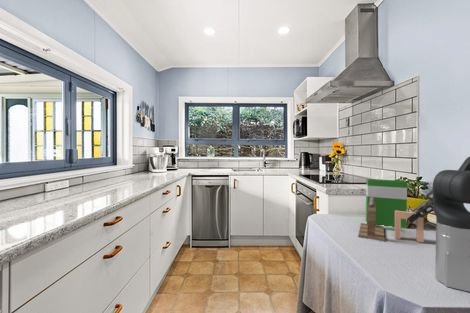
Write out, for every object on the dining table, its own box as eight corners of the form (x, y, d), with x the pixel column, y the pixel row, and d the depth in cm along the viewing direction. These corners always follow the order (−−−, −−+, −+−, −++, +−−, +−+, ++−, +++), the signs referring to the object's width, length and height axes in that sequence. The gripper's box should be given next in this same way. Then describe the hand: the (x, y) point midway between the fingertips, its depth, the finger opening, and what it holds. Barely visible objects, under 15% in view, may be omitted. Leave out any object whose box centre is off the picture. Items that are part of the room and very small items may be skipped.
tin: (425, 228, 120) (426, 212, 120) (419, 228, 121) (419, 212, 121) (410, 220, 135) (410, 206, 135) (404, 220, 136) (404, 205, 135)
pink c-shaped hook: (423, 242, 100) (423, 214, 100) (395, 238, 105) (395, 211, 105) (422, 240, 102) (422, 213, 103) (394, 236, 107) (394, 210, 108)
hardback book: (402, 224, 126) (403, 180, 126) (406, 228, 120) (407, 182, 119) (365, 220, 134) (366, 178, 133) (366, 223, 127) (367, 180, 127)
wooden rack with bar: (384, 241, 101) (385, 204, 101) (358, 236, 106) (359, 202, 106) (383, 228, 119) (383, 197, 119) (360, 225, 124) (361, 195, 124)
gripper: (457, 203, 91) (418, 230, 96) (447, 200, 103) (413, 224, 108) (438, 188, 94) (402, 216, 99) (431, 187, 106) (399, 211, 111)
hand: (408, 220), depth 104 cm, fingers closed on pink c-shaped hook, 3 cm apart
